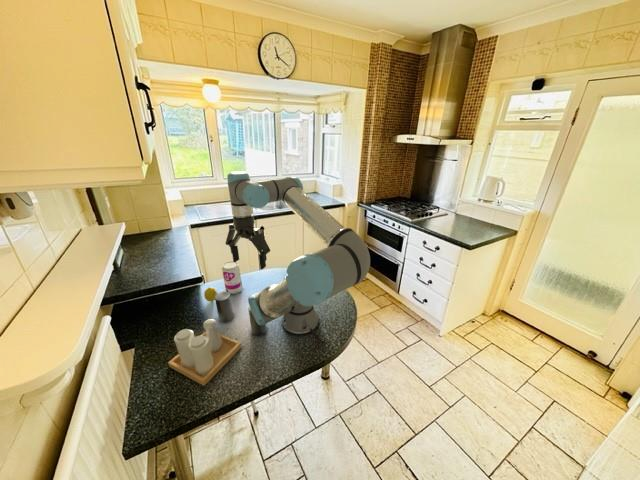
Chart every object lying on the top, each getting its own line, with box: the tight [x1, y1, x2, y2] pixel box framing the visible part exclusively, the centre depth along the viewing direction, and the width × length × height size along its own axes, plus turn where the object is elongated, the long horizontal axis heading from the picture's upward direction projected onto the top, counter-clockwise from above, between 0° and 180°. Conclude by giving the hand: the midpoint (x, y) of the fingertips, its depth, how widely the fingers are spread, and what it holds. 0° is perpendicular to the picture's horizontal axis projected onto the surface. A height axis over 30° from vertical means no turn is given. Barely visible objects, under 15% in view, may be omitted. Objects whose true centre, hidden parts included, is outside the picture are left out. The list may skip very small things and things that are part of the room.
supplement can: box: [221, 260, 243, 295], centre depth 130 cm, size 8×8×15 cm
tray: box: [167, 330, 242, 387], centre depth 94 cm, size 17×18×3 cm
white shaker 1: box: [173, 328, 196, 368], centre depth 90 cm, size 6×6×13 cm
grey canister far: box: [214, 291, 234, 324], centre depth 111 cm, size 6×6×12 cm
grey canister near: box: [248, 306, 267, 337], centre depth 104 cm, size 6×6×12 cm
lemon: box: [203, 286, 218, 303], centre depth 123 cm, size 6×6×8 cm
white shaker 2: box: [189, 335, 214, 376], centre depth 87 cm, size 6×6×13 cm
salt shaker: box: [203, 318, 222, 353], centre depth 95 cm, size 6×6×13 cm
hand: (249, 264), depth 104 cm, fingers open, 13 cm apart
